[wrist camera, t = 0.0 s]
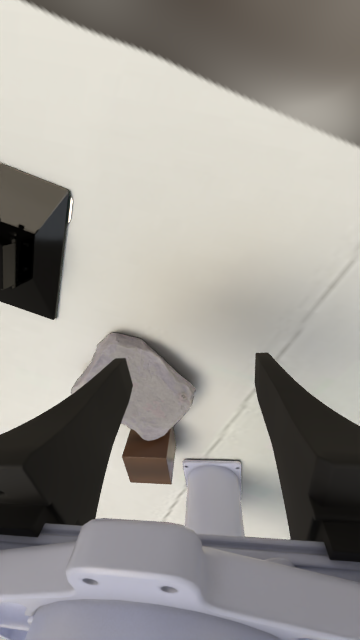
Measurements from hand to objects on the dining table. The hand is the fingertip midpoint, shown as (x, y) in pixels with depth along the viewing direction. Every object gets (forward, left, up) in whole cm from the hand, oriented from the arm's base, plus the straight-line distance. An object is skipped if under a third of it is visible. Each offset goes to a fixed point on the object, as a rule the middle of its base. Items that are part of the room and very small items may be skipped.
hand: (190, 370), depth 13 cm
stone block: (-9, +7, -10) cm, 15 cm away
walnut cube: (-19, +7, -10) cm, 22 cm away
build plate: (+6, +15, -10) cm, 19 cm away
